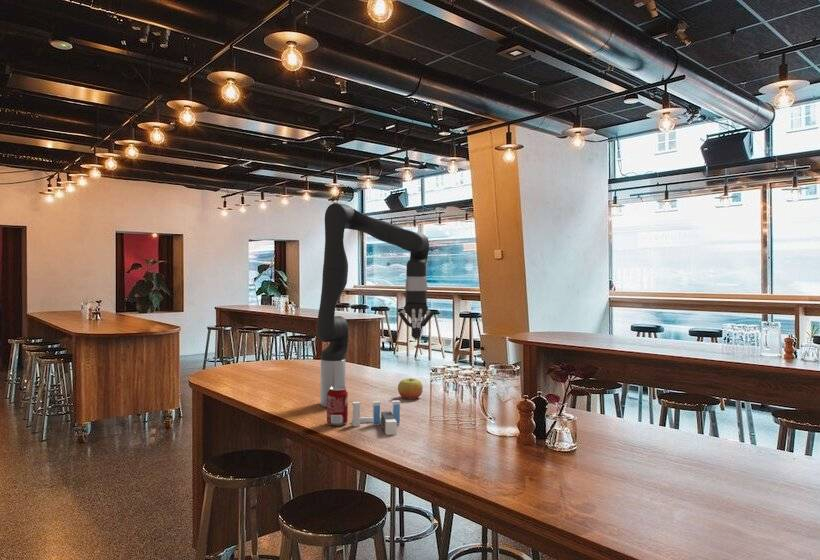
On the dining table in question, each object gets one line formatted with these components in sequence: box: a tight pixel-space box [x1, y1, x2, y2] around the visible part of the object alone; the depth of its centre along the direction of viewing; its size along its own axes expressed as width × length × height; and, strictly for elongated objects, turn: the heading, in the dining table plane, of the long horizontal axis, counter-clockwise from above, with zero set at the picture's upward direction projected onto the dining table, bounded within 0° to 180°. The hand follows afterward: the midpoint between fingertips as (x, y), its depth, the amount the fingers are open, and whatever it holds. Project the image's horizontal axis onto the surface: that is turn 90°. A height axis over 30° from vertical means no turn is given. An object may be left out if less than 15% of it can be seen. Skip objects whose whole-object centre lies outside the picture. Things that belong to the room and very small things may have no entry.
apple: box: [397, 378, 424, 400], centre depth 225 cm, size 10×10×8 cm
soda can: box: [326, 386, 349, 427], centre depth 186 cm, size 7×7×12 cm
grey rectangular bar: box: [380, 410, 398, 436], centre depth 181 cm, size 13×3×4 cm, turn 10°
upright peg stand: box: [351, 399, 401, 427], centre depth 187 cm, size 5×16×8 cm, turn 101°
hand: (415, 338), depth 199 cm, fingers closed
